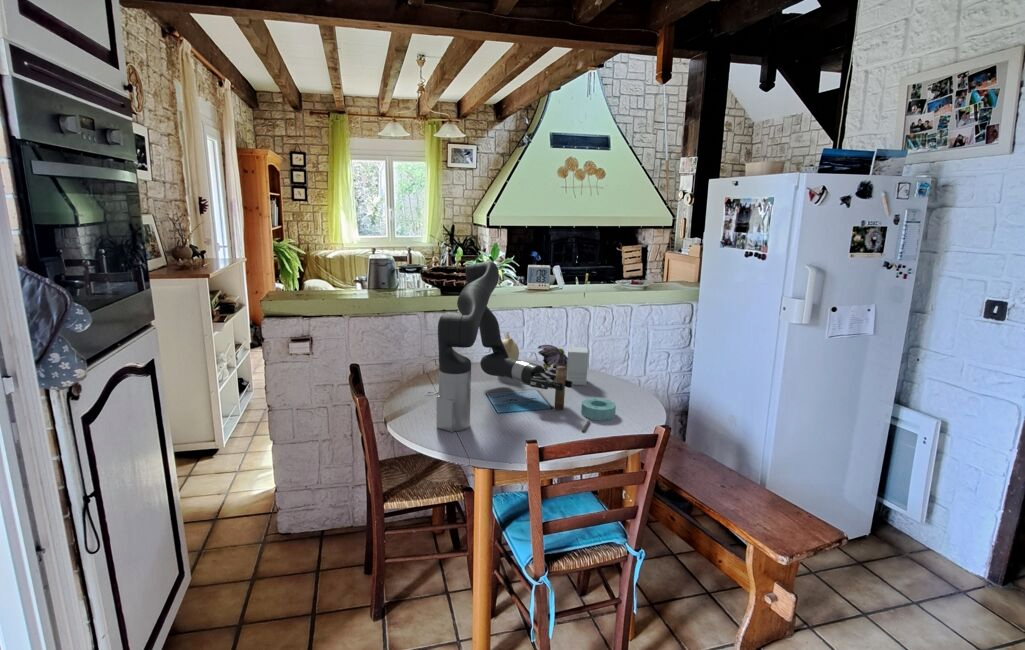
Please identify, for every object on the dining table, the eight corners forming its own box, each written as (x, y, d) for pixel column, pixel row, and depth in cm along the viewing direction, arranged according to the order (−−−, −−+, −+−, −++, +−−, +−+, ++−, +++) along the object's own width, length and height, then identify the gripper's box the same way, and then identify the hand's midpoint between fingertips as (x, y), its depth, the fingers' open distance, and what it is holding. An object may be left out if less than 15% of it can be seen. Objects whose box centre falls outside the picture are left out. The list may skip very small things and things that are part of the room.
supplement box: (585, 379, 212) (587, 347, 209) (586, 385, 205) (588, 352, 202) (566, 378, 213) (568, 346, 210) (566, 384, 205) (568, 351, 203)
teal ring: (605, 423, 171) (606, 412, 170) (575, 414, 177) (576, 404, 176) (620, 413, 179) (620, 402, 178) (590, 405, 185) (591, 395, 184)
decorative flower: (570, 355, 209) (536, 338, 215) (556, 383, 210) (524, 365, 216) (581, 356, 222) (550, 340, 228) (569, 383, 223) (538, 366, 229)
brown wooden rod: (560, 411, 179) (563, 369, 176) (552, 408, 181) (554, 367, 178) (565, 408, 182) (567, 367, 179) (557, 406, 183) (559, 365, 180)
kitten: (489, 367, 224) (490, 330, 220) (514, 366, 225) (515, 330, 222) (495, 378, 209) (496, 340, 206) (521, 378, 211) (523, 339, 208)
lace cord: (584, 432, 163) (584, 430, 163) (581, 431, 164) (581, 429, 163) (589, 422, 171) (590, 420, 170) (587, 422, 171) (587, 420, 171)
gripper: (513, 366, 183) (553, 379, 172) (542, 359, 193) (581, 370, 182) (512, 388, 185) (552, 402, 173) (541, 379, 195) (580, 392, 183)
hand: (567, 386), depth 178 cm, fingers open, 3 cm apart
